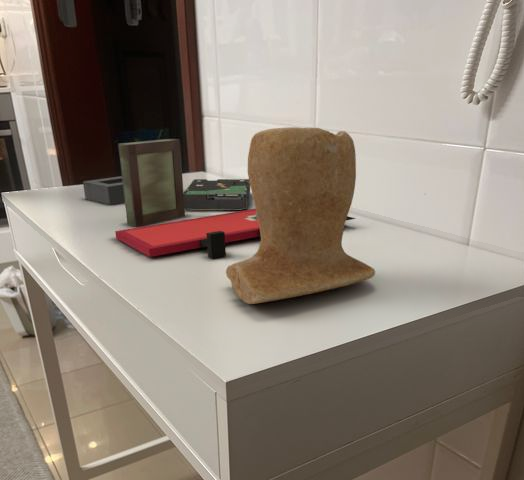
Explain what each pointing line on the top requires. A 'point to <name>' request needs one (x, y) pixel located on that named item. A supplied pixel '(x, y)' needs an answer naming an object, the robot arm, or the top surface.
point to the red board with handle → (194, 234)
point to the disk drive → (217, 194)
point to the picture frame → (152, 181)
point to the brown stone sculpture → (299, 215)
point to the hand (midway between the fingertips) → (101, 25)
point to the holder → (105, 190)
